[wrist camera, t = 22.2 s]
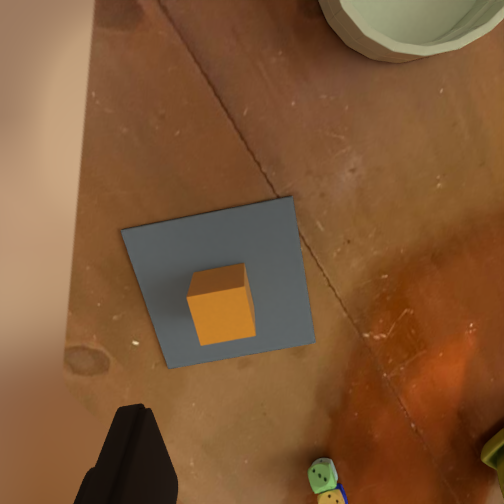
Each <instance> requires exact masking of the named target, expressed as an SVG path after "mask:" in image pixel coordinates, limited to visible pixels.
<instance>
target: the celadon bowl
mask: <svg viewBox="0 0 504 504" xmlns="http://www.w3.org/2000/svg"><path fill="white" fill-rule="evenodd" d="M318 1H319V3H320V6H321V8H322V11H323V13H324V16H325V18H326V20H327V22H328V24H329V25H330V26H331V28H332V29H333V30H334V31H335V32H336V33H337V35H338V36H339V37H340V38H341V39H342V40H343V42H344V43H345V44H346V45H347V46H348V47H350V48H352V49H354V50H356V51H357V52H359V53H361V54H363V55H365V56H366V57H368V58H370V59H373V60H379V61H386V62H393V63H404V62H408V61H413V60H418V59H422V58H427V57H431V56H435V55H439V54H442V53H446V52H450V51H454V50H457V49H460V48H462V47H463V46H465V45H467V44H469V43H470V42H472V41H474V40H476V39H477V38H479V37H481V36H483V35H484V34H486V33H488V32H490V31H491V30H492V29H493V28H494V27H495V26H496V25H497V24H498V23H499V22H500V21H501V20H502V19H503V18H504V0H318Z"/></svg>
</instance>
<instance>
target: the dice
mask: <svg viewBox="0 0 504 504" xmlns="http://www.w3.org/2000/svg"><path fill="white" fill-rule="evenodd" d="M308 478H309V481H310V485H311V487H312V490H313V491H314V492H315V493H321V494H319V495H318V497H317V500H318V504H348V500H347V497H346V494H345V491H344V488H343V486H342V484H340V483H336V481H337V479H338V475H337V472H336V469H335V466H334V464H333V462H332V460H331V459H329V458H319V459H317V460H316V461H314V462H313V463H312V465H311V467H309V469H308Z"/></svg>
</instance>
